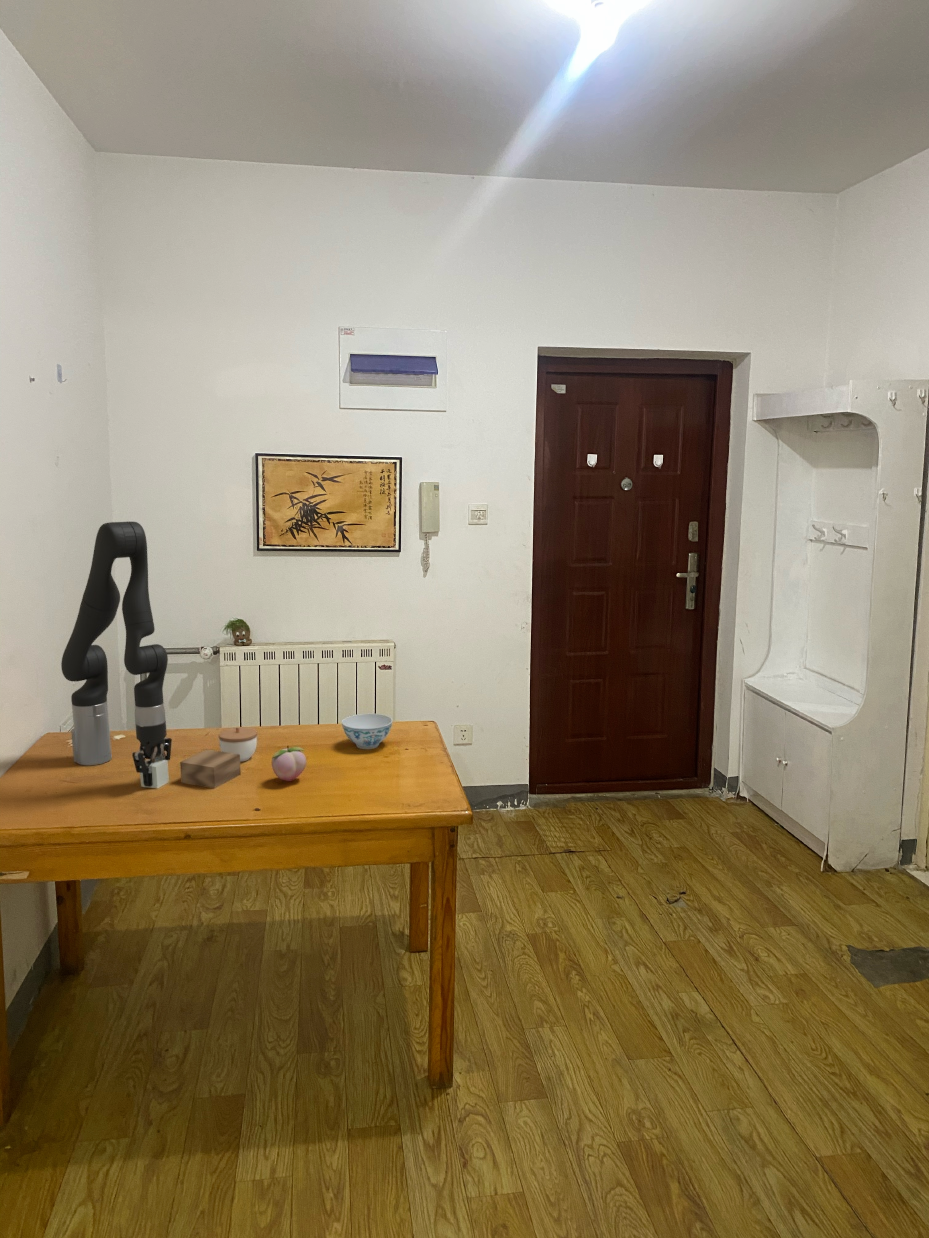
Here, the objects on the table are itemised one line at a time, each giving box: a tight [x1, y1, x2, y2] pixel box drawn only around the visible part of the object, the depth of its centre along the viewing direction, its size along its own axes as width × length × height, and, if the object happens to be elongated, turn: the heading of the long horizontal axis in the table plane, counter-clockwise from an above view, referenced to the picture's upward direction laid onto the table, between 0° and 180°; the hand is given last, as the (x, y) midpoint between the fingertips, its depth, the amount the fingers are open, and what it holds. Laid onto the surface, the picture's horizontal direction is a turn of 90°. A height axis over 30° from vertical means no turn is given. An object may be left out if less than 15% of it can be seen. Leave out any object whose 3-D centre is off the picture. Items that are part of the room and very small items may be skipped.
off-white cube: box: [139, 759, 170, 789], centre depth 236 cm, size 5×5×6 cm
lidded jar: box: [218, 726, 258, 763], centre depth 255 cm, size 11×11×9 cm
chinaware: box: [341, 713, 393, 750], centre depth 266 cm, size 15×15×8 cm
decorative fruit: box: [271, 745, 307, 782], centre depth 238 cm, size 9×8×10 cm
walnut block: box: [179, 749, 242, 789], centre depth 240 cm, size 11×11×6 cm
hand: (154, 781), depth 236 cm, fingers closed on off-white cube, 5 cm apart
